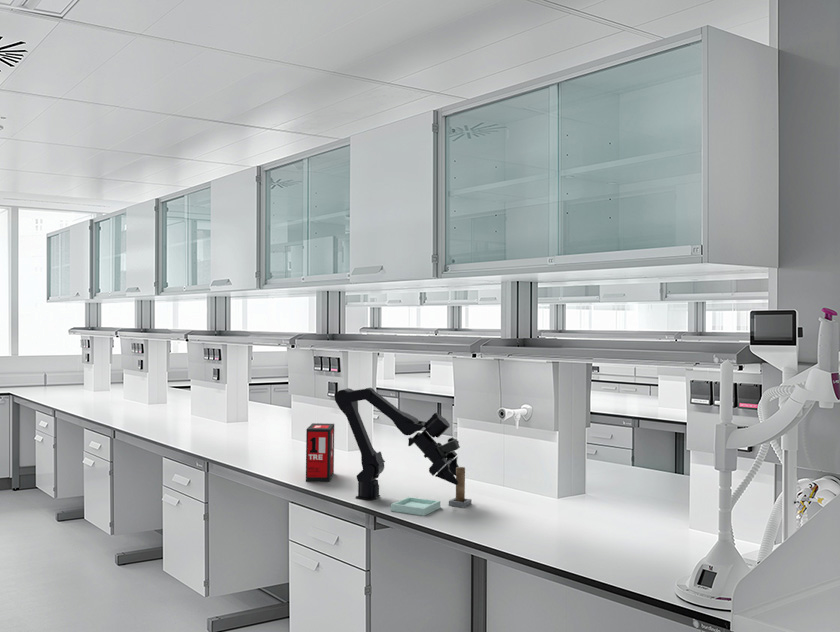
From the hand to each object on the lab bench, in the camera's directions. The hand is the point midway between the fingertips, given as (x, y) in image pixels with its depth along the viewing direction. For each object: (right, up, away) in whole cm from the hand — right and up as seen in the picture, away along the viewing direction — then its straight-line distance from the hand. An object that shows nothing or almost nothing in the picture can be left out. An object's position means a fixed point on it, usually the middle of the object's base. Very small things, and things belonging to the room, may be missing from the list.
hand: (460, 481), depth 260 cm
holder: (0, -8, 0) cm, 8 cm away
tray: (-15, -8, -7) cm, 18 cm away
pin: (0, -8, 0) cm, 8 cm away
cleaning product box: (-53, -8, +42) cm, 68 cm away
